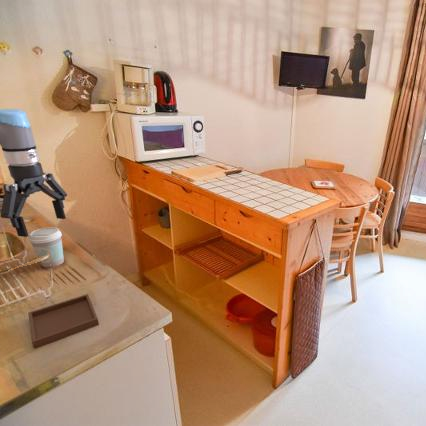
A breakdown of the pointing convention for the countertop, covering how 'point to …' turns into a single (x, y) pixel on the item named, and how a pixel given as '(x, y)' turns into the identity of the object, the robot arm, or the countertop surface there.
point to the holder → (61, 320)
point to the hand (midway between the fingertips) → (43, 226)
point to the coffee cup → (48, 245)
